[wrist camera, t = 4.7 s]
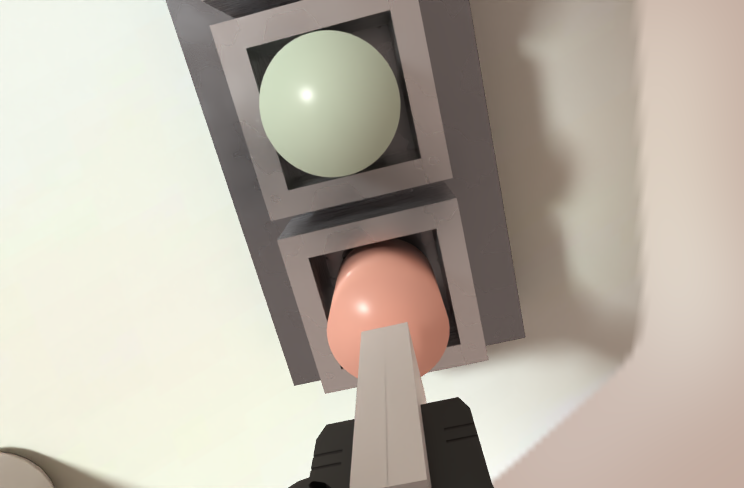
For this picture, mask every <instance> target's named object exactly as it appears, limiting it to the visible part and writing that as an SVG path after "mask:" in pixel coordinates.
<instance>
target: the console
mask: <svg viewBox="0 0 744 488" xmlns="http://www.w3.org/2000/svg"><path fill="white" fill-rule="evenodd" d="M166 3H167V6H168V9H169V12H170V15H171V18H172V21H173V24H174V27H175V30H176V33H177V36H178V39H179V41H180V44H181V47H182V50H183V53H184V56H185V59H186V62H187V65H188V68H189V71H190V74H191V77H192V80H193V83H194V86H195V89H196V92H197V95H198V98H199V101H200V104H201V107H202V110H203V113H204V116H205V119H206V122H207V125H208V128H209V131H210V134H211V137H212V140H213V143H214V146H215V149H216V152H217V155H218V158H219V161H220V164H221V167H222V170H223V173H224V176H225V179H226V182H227V185H228V188H229V191H230V194H231V197H232V200H233V203H234V206H235V209H236V212H237V215H238V218H239V221H240V224H241V227H242V230H243V233H244V236H245V239H246V242H247V245H248V248H249V251H250V254H251V257H252V260H253V263H254V266H255V269H256V272H257V275H258V278H259V281H260V284H261V287H262V290H263V293H264V296H265V299H266V302H267V305H268V308H269V311H270V314H271V317H272V320H273V323H274V326H275V329H276V332H277V335H278V338H279V341H280V344H281V347H282V350H283V353H284V356H285V359H286V362H287V365H288V368H289V371H290V374H291V377H292V380H293V383H294V386H295V385H300V384H305V383H310V382H314V381H319V380H321V382H322V385H323V389H324V392H325V394H326V393H331V392H336V391H341V390H345V389H350V388H355V387H357V382H358V378H356V377H355V376H353V375H351V374H350V373H349V372H347V371H346V370H345V369H344V368H343V367H342V366H341V365H340V364H339V363H338V361H337V360H336V359H335V357H334V355H333V354H332V352H331V349H330V346H329V343H328V339H327V322H328V318H329V313H330V308H331V304H332V299H333V294H334V290H335V285H336V280H337V275H338V271H339V269H340V266H341V264H342V262H343V260H344V259H345V258H346V256H347V255H348V254H349V253H350V252H351V251H352V250H353V249H354V248H356V247H358V246H363V245H367V244H371V243H376V242H380V241H384V240H389V239H393V238H395V239H399V240H403V241H405V242H408V243H410V244H412V245H413V246H415V247H416V248H418V249H419V250H420V251H421V252H422V253H423V254H424V255H425V256H426V258H427V259H428V261H429V262H430V264H431V266H432V269H433V272H434V275H435V278H436V281H437V284H438V288H439V291H440V294H441V297H442V300H443V303H444V306H445V309H446V312H447V316H448V319H449V326H450V328H449V340H448V344H447V347H446V350H445V352H444V354H443V356H442V357H441V359H440V360H439V362H438V363H437V364H436V365H435V366H434V367H433V368H432V369H431V370H430V371H429V372H433V371H437V370H442V369H447V368H452V367H457V366H462V365H466V364H471V363H476V362H481V361H486V360H488V356H487V350H486V346H487V345H491V344H496V343H501V342H506V341H511V340H515V339H520V338H525V333H524V327H523V321H522V315H521V309H520V303H519V297H518V291H517V285H516V279H515V273H514V267H513V261H512V255H511V249H510V243H509V237H508V231H507V225H506V219H505V213H504V207H503V201H502V195H501V189H500V183H499V177H498V171H497V165H496V159H495V153H494V147H493V141H492V135H491V129H490V123H489V117H488V111H487V105H486V99H485V93H484V87H483V81H482V75H481V69H480V63H479V57H478V51H477V46H476V40H475V34H474V28H473V22H472V16H471V10H470V4H469V0H166ZM324 30H333V31H341V32H345V33H349V34H352V35H354V36H357V37H359V38H361V39H362V40H364V41H366V42H367V43H369V44H370V45H371V46H373V47H374V48H375V49H376V50H377V51H378V52H379V53H380V54H381V55H382V56H383V58H384V59H385V60H386V61H387V63H388V64H389V66H390V68H391V70H392V71H393V74H394V76H395V78H396V81H397V85H398V88H399V94H400V118H399V123H398V127H397V130H396V132H395V135H394V137H393V139H392V141H391V143H390V145H389V146H388V148H387V149H386V150H385V152H384V153H383V154H382V155H381V156H380V157H379V158H378V159H377V160H376V161H375V162H374V163H372V164H371V165H370V166H368V167H366V168H365V169H363V170H361V171H359V172H357V173H354V174H351V175H347V176H341V177H321V176H317V175H312V174H310V173H307V172H304V171H302V170H300V169H298V168H296V167H295V166H293V165H292V164H290V163H289V162H288V161H286V160H285V159H284V158H283V157H282V156H281V155H280V154H279V153H278V152H277V150H276V149H275V148H274V146H273V145H272V144H271V142H270V140H269V138H268V136H267V135H266V132H265V130H264V127H263V124H262V120H261V116H260V108H259V95H260V88H261V84H262V80H263V77H264V74H265V72H266V70H267V67H268V66H269V64H270V62H271V61H272V59H273V58H274V57H275V56H276V54H277V53H278V52H279V51H280V50H281V49H282V48H283V47H284V46H285V45H287V44H288V43H289V42H291V41H292V40H294V39H296V38H298V37H300V36H302V35H305V34H308V33H311V32H316V31H324ZM427 373H428V372H427Z"/></svg>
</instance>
